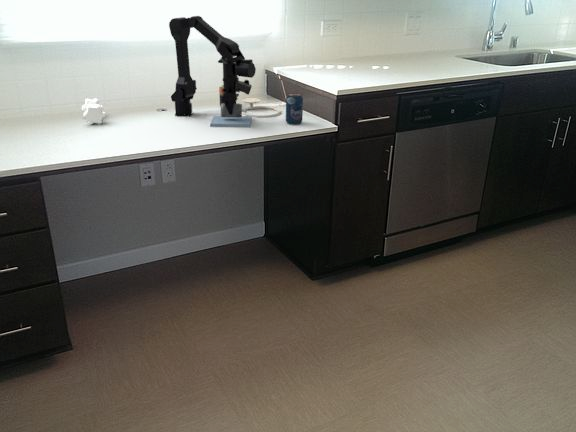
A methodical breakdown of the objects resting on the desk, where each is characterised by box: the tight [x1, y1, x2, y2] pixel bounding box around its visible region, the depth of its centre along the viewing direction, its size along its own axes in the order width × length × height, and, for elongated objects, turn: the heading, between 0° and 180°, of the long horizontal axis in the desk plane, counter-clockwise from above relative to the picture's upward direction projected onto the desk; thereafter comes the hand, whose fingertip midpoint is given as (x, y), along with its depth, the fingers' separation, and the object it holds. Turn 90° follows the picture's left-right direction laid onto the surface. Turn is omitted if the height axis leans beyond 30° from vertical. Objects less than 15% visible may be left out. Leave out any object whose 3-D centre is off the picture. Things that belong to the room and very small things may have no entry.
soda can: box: [285, 92, 304, 126], centre depth 226 cm, size 7×7×12 cm
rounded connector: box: [220, 102, 248, 118], centre depth 225 cm, size 11×4×5 cm, turn 90°
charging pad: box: [209, 115, 253, 128], centre depth 227 cm, size 16×13×1 cm
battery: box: [218, 84, 237, 107], centre depth 249 cm, size 4×7×10 cm, turn 112°
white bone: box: [81, 97, 107, 125], centre depth 225 cm, size 15×9×8 cm, turn 22°
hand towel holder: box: [242, 97, 282, 119], centre depth 243 cm, size 17×4×21 cm
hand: (231, 113), depth 225 cm, fingers closed on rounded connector, 4 cm apart
